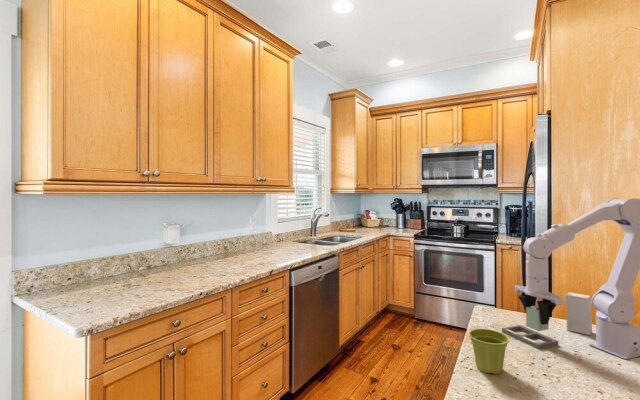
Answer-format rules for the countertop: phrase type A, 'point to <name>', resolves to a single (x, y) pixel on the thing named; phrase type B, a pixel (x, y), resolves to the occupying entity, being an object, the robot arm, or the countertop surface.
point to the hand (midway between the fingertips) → (537, 321)
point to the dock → (529, 335)
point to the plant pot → (489, 349)
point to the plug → (534, 318)
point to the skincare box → (579, 313)
